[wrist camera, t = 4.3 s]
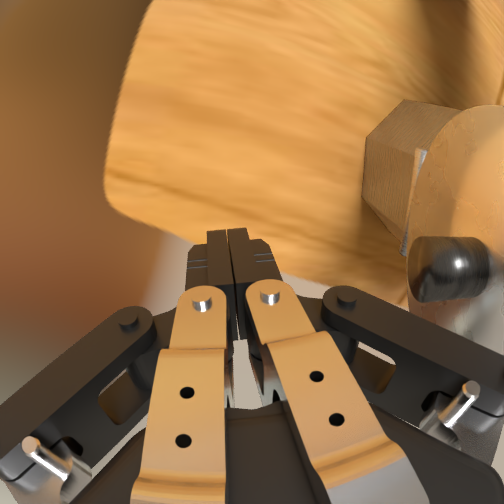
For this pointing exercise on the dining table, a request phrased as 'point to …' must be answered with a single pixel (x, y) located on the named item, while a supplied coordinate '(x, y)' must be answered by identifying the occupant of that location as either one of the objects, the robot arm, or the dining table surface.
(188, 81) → the dining table surface
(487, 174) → the lid
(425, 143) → the pot
